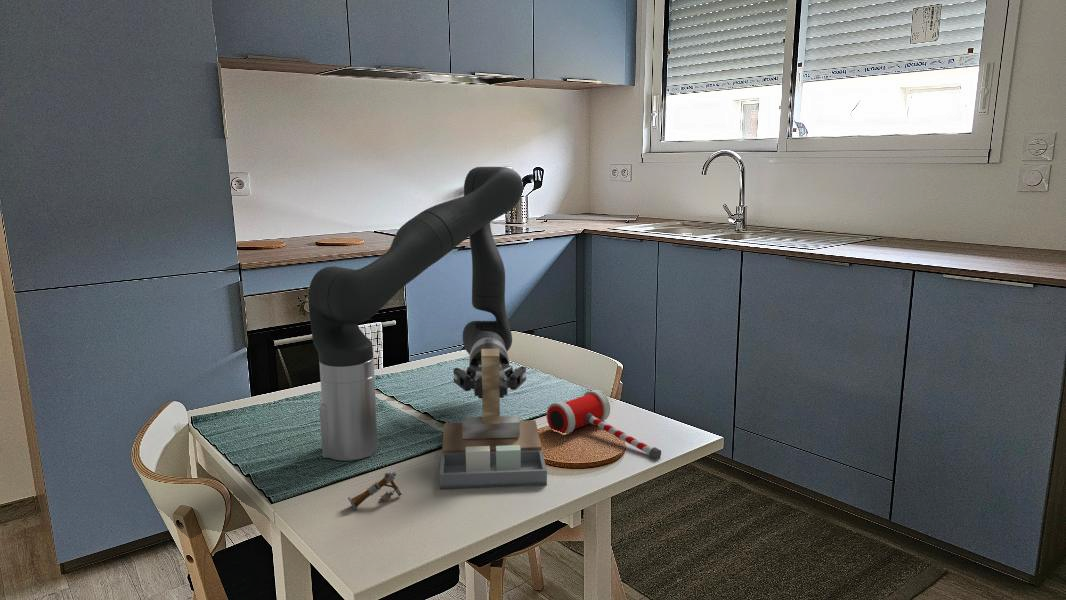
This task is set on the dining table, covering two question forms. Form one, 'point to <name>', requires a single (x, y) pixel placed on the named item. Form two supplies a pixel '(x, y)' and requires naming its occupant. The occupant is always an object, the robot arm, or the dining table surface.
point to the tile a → (477, 458)
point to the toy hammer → (590, 418)
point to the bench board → (457, 444)
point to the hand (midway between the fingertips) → (491, 392)
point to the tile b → (508, 458)
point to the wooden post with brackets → (373, 489)
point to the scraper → (490, 405)
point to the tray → (492, 472)
